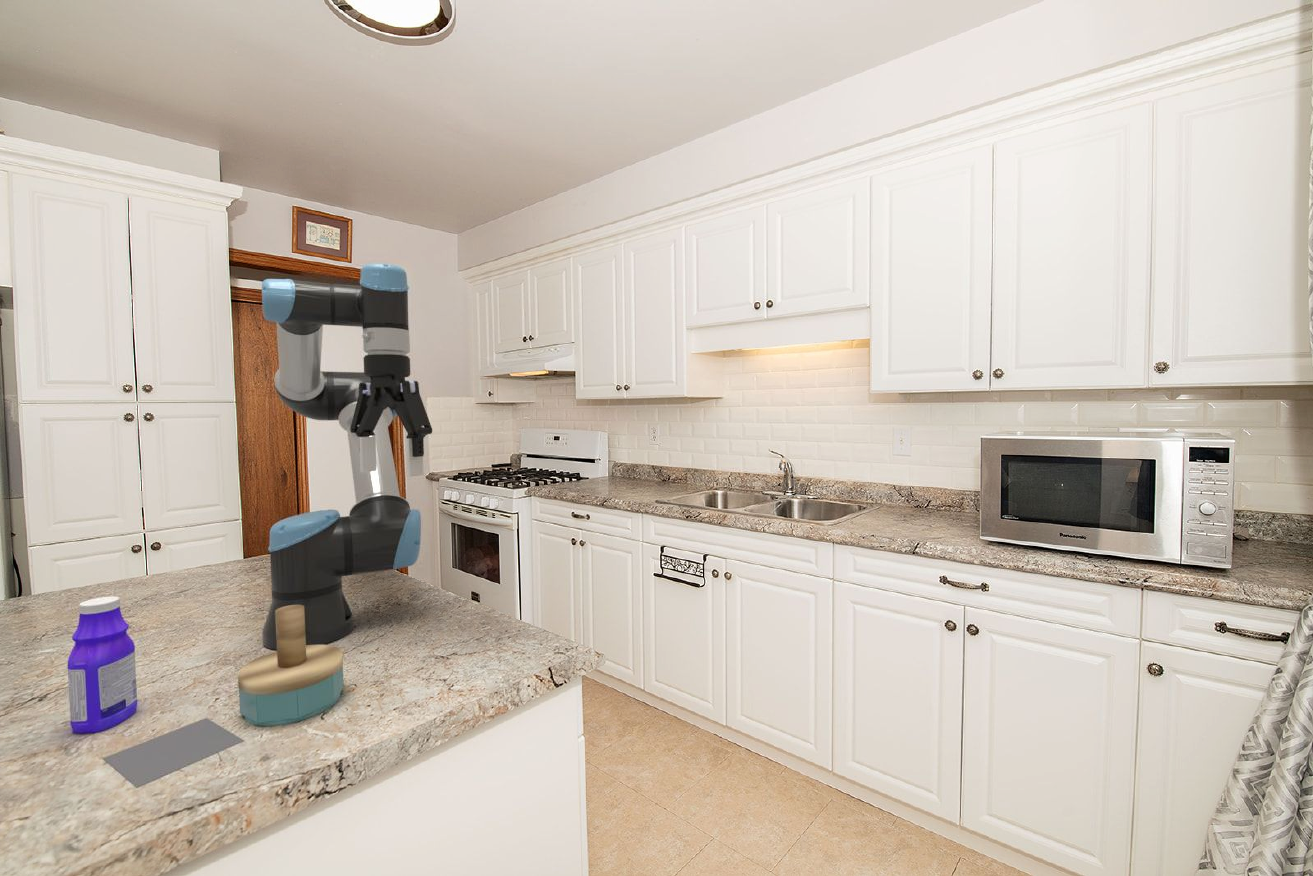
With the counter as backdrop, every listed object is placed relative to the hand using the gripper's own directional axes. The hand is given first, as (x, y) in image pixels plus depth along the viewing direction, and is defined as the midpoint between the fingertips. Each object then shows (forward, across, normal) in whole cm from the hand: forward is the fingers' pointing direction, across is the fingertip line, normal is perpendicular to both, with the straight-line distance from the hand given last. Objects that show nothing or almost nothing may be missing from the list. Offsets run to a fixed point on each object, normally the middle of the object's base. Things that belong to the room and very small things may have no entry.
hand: (391, 473), depth 106 cm
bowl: (+32, +6, -21) cm, 38 cm away
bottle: (+32, -12, -37) cm, 50 cm away
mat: (+32, +5, -35) cm, 47 cm away
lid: (+27, +6, -21) cm, 34 cm away
